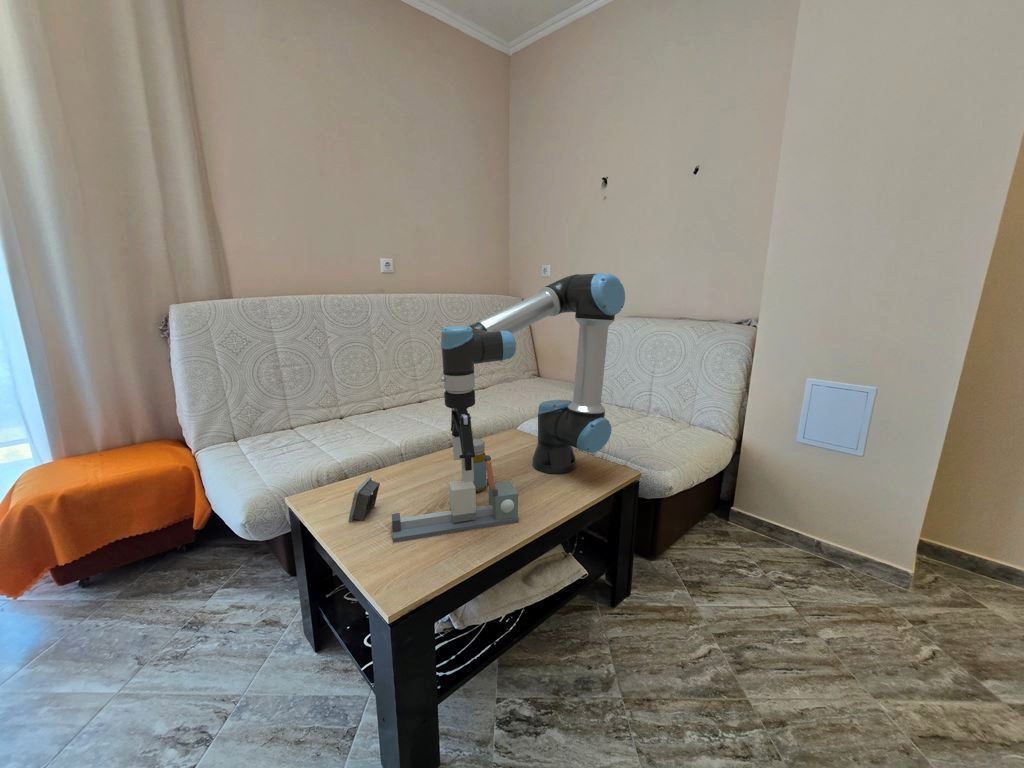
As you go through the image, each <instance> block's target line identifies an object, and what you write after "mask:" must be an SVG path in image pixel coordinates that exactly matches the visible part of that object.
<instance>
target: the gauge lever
mask: <svg viewBox="0 0 1024 768" xmlns="http://www.w3.org/2000/svg"><path fill="white" fill-rule="evenodd" d="M485 455H486V456H485V457H484V461H485V464H486V478H487V479H488V483H489V485H490V487H491V489H495V484H494V483H495V479H494V474H493V472H494V471H493V465H492V461H491V460H492V457H491V456H490V455H488V454H485ZM492 491H493V490H492Z"/></svg>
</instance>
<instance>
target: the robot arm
mask: <svg viewBox="0 0 1024 768" xmlns="http://www.w3.org/2000/svg"><path fill="white" fill-rule="evenodd" d="M625 302H626V292H625V287H624V284H623V283H622V282H621V280H620V278H619V277H617V276H616V275H614V274H611V273H603V272H602V273H601V272H598V273H586V274H585V273H584V274H583V273H582V274H578V273H577V274H571V275H568V276H566V277H563V278H561V279H557V280H556V281H554V282H552V283H550V284H548V285H545V286H544V287H541V288H540V290H539V291H538V293H537V294H534V295H532V296H530V297H528V298H526V299H523V300H522V301H519V302H517V303H515V304H513V305H511V306H508V307H507V308H505V309H503V310H500V311H498V312H495V313H494V314H492V315H489V316H488V317H486V318H484V319H481V320H479V321H477V322H475V323H472V324H470V325H467V326H465V325H452V326H446V327H443V329H442V331H441V337H440V339H441V341H440V342H441V343H440V348H441V357H442V370H443V371H442V372H443V377H441V378H440V381H441V382H442V383H443V389H444V390H445V391H444V394H443V395H444V406H446V407H447V408H448V409H451V415H450V416H451V420H450V431H451V435H452V436H451V437H452V452H453V454H452V455H453V461H460V460H461V478H462V479H461V481H463V482H470V481H474V468H473V457H475V453H474V445H473V439H474V436H473V429H472V416H471V415H470V413H469V412H468V409H469V408H473V406H475V405H476V391H475V390H474V389H475V388H476V383H475V381H476V380H475V378H476V377H475V376H476V375H475V365H478V364H485V363H491V362H492V363H493V362H503V361H505V360H509V359H512V358H513V357H514V356H515V354H516V350H517V342H516V339H515V336H514V334H515V333H517V332H519V331H521V330H523V329H525V328H527V327H530V326H531V325H532V324H535V323H538V322H539V321H541V320H543V319H545V318H547V317H556V316H557V315H558V316H559V315H560V314H563V313H564V314H565V313H575V315H574V316H575V317H574V319H575V321H576V322H577V323H578V325H579V328H578V329H579V330H578V340H577V341H578V342H577V352H576V353H577V354H576V364H575V374H574V389H573V397H572V400H568V399H552V400H551V399H550V400H546V401H542V402H540V403H539V404H538V411H537V445H536V447H535V450H534V453H533V456H532V461H531V462H532V467H533V468H534V469H535V470H537V471H539V472H541V473H545V474H552V475H555V474H556V475H558V474H559V475H560V474H566V473H570V472H572V471H574V470H575V469H576V466H577V465H576V463H577V459H576V455H575V452H574V449H573V448H576V449H577V450H579V451H582V452H586V453H589V454H594V453H597V452H599V451H601V450H602V449H603V448H604V447H605V446H606V445H607V444H608V443H609V440H610V437H611V433H612V424H611V423H610V421H609V420H608V419H607V417H605V415H606V408H605V406H603V405H602V396H603V386H604V385H603V384H604V377H605V376H604V374H605V368H606V367H605V364H606V355H607V345H608V336H609V335H608V333H609V327H610V326H611V325H612V323H614V322H615V317H616V315H617V314H619V313H620V312H621V311H622V308H623V307H624V305H625Z"/></svg>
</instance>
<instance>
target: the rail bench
mask: <svg viewBox="0 0 1024 768" xmlns="http://www.w3.org/2000/svg"><path fill="white" fill-rule="evenodd" d="M494 484H495V489H491V487H490V485H489V483H488V478H486V486H488V504H486V505H477V506H476V519H475V520H468V521H462V522H456V523H453V520H452V511H450V510H445V511H438V512H432V513H431V512H430V513H426V514H424V513H423V514H419V515H417V514H416V515H410V516H405V517H401V513H400V512H395V513H391V525H392V526H391V528H392V543H393V544H395V543H400V542H407V541H412V540H418V539H424V538H430V537H437V536H444V535H448V534H454V533H461V532H467V531H472V530H474V531H475V530H479V529H485V528H491V527H497V526H504V525H510V524H516V523H519V493H518V492H517V490H516V488H515V487H514V485H513V483H512V482H511V481H510V480H504V481H496V482H495V481H494ZM492 490H493V491H492Z"/></svg>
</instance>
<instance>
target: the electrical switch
mask: <svg viewBox="0 0 1024 768" xmlns="http://www.w3.org/2000/svg"><path fill="white" fill-rule="evenodd" d="M380 485H381V483H380V482H377V481H375V480H372V477H371V476H367V478H366V479H365V480H363V482H362V483H361V484H360V485H359V486H358V487H357V488H356V489H355V491H354V492H353V498H352V503H351V507H350V511H349V516H348V521H349V522H353V520H356V521H362V522H364V521H365V519H366V518H367V517H368V516H369V514H370V513H371V512H372V510H374V507H375V506H376V502H377V497H378V492H379V489H380Z"/></svg>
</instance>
